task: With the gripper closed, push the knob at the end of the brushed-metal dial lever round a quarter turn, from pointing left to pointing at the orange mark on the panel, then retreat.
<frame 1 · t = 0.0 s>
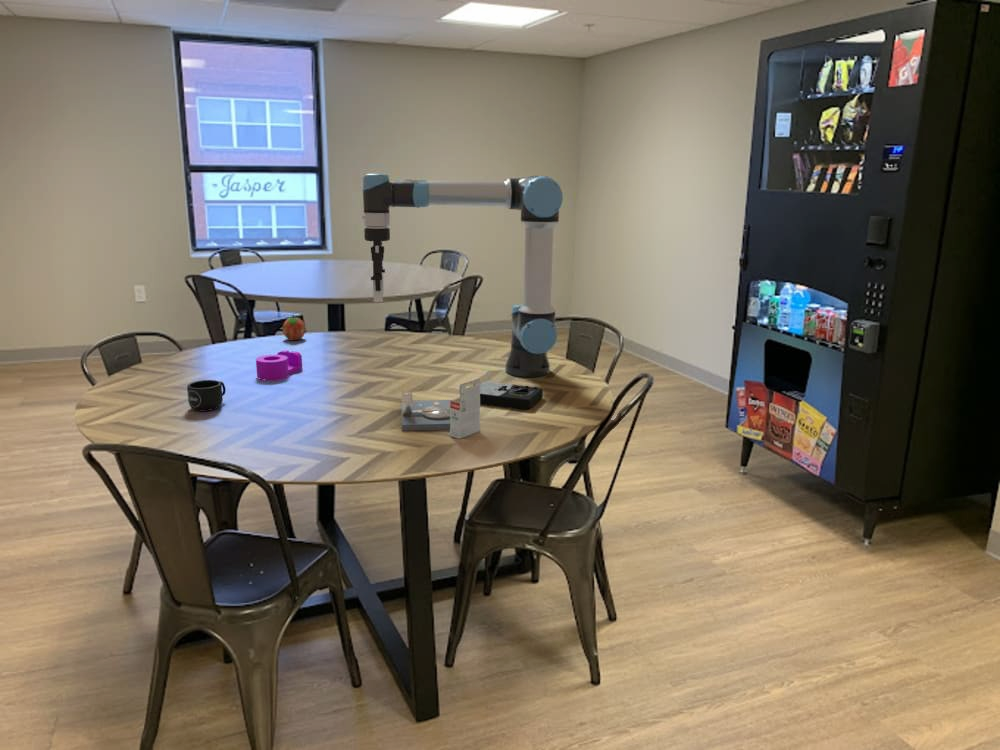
hand: (378, 297, 231), 28 cm above the table, fingers open, 13 cm apart
dial: (428, 403, 206), point 5 cm above the table, hinge at 0.0°
panel: (438, 416, 210), on the table
mug: (210, 407, 215), on the table
multimeter: (505, 402, 226), on the table
ink box: (465, 435, 197), on the table
tape dispenser: (278, 375, 250), on the table
fruit: (294, 340, 298), on the table
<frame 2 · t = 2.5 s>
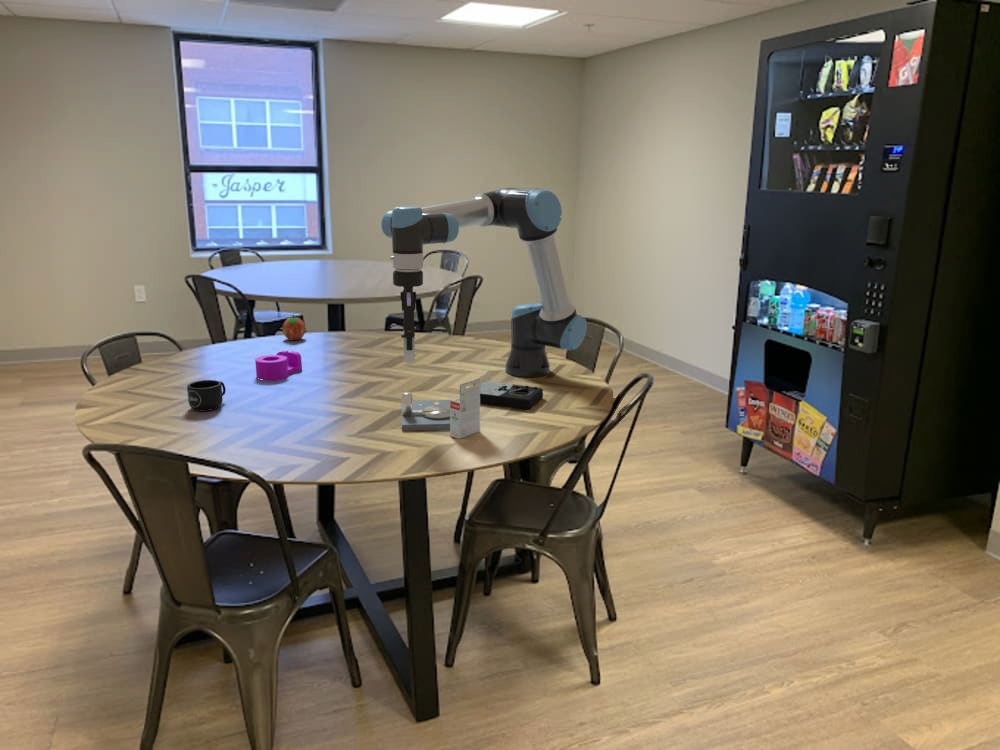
hand: (409, 358, 196), 19 cm above the table, fingers open, 6 cm apart
nothing on the table moved.
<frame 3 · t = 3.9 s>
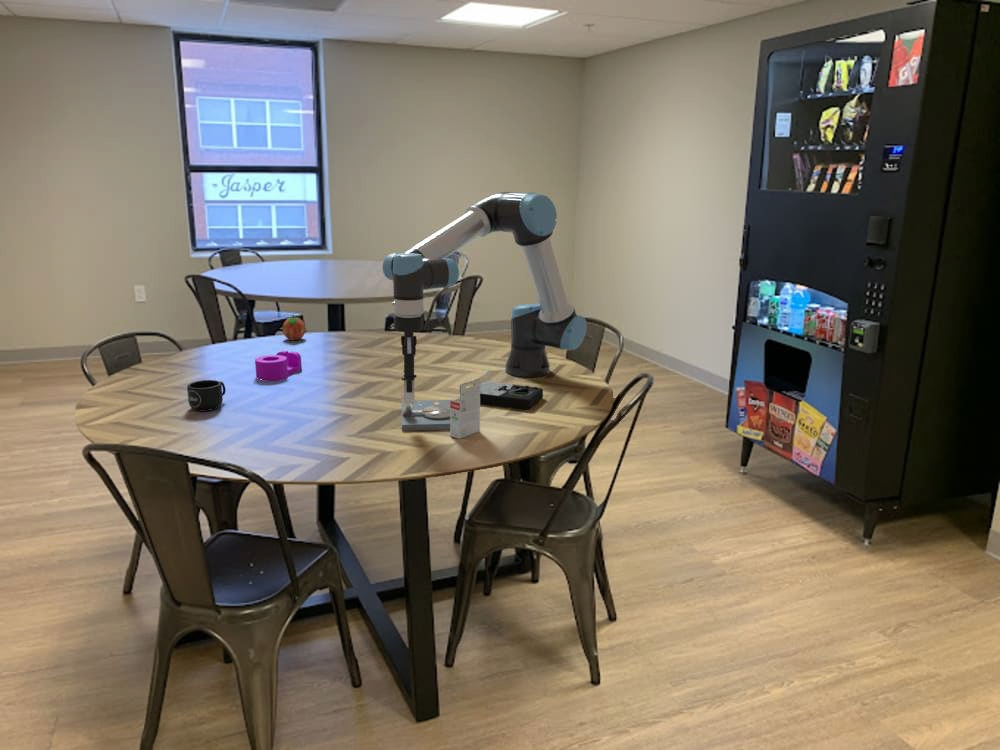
hand: (409, 402, 199), 7 cm above the table, fingers closed
nothing on the table moved.
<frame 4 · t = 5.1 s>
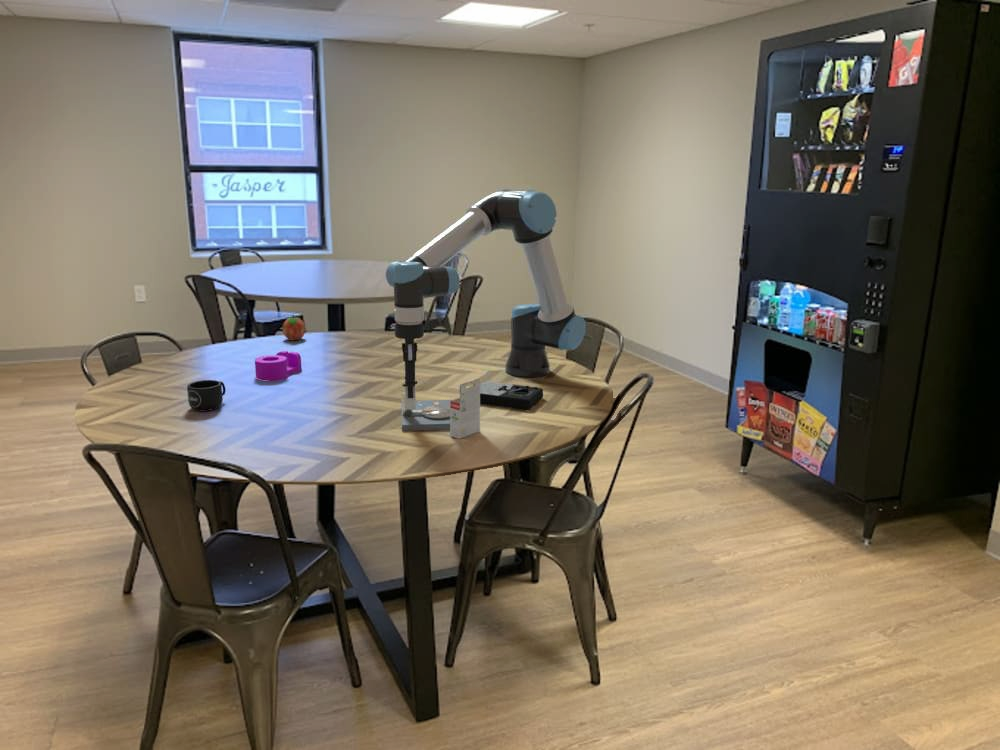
hand: (410, 408, 203), 4 cm above the table, fingers closed
dial: (428, 403, 206), point 5 cm above the table, hinge at -1.0°, touching gripper
everything else where it was.
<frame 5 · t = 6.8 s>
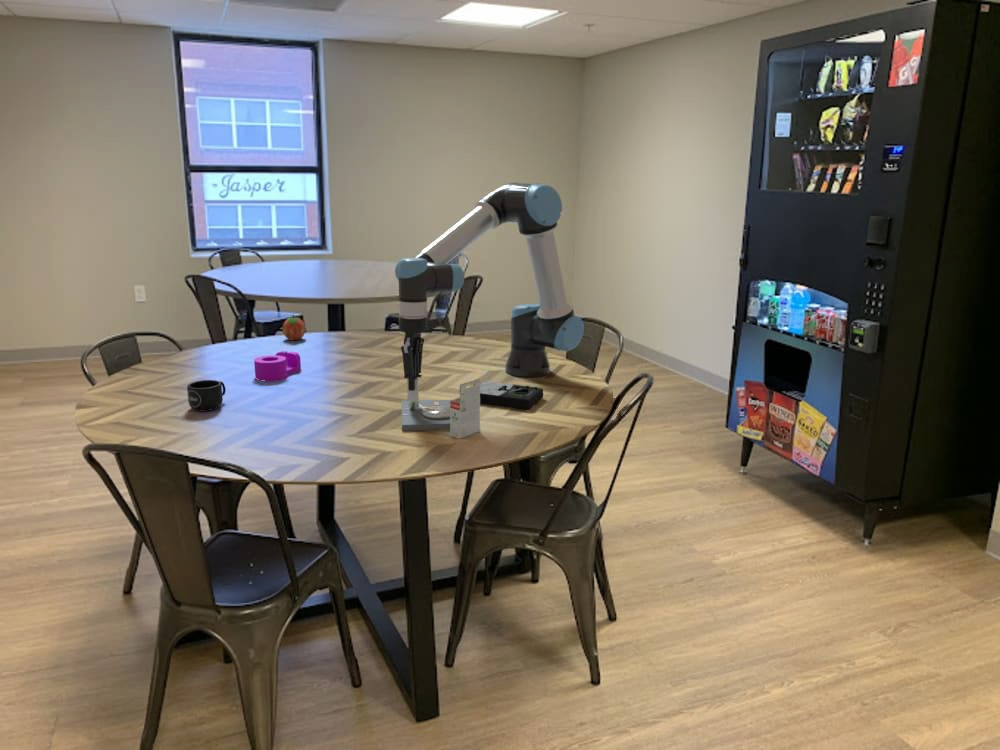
hand: (412, 400, 208), 5 cm above the table, fingers closed
dial: (430, 401, 208), point 5 cm above the table, hinge at -38.5°, touching gripper
everything else where it was.
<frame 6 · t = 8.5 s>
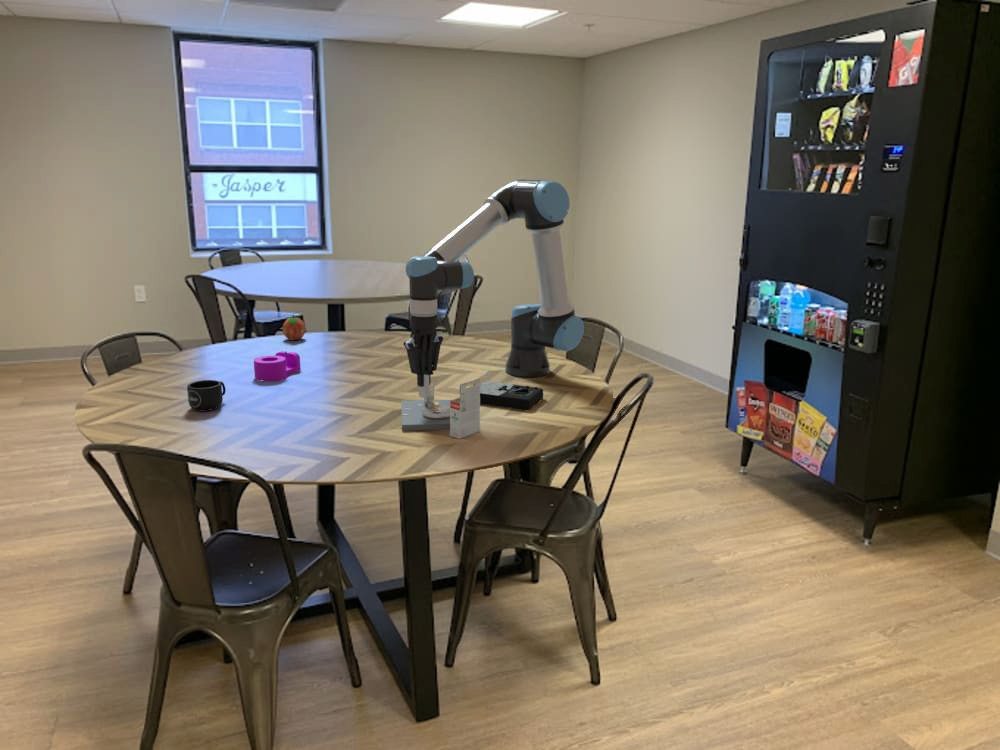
hand: (424, 396, 212), 5 cm above the table, fingers closed
dial: (435, 400, 209), point 5 cm above the table, hinge at -75.2°
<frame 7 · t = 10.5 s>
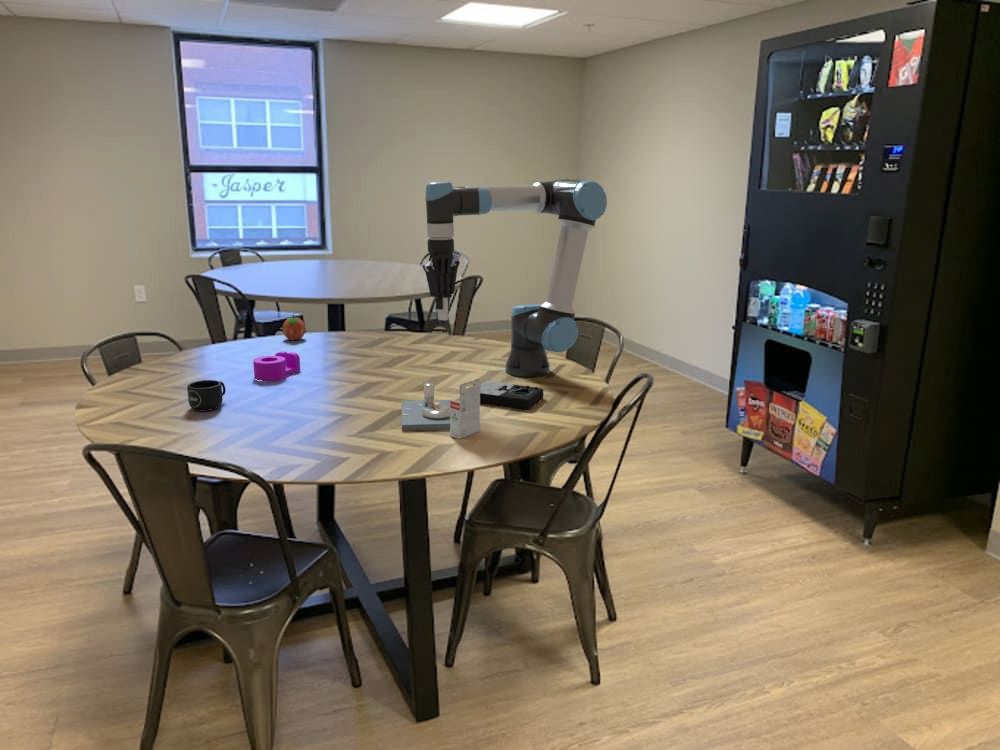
hand: (443, 319, 221), 24 cm above the table, fingers closed
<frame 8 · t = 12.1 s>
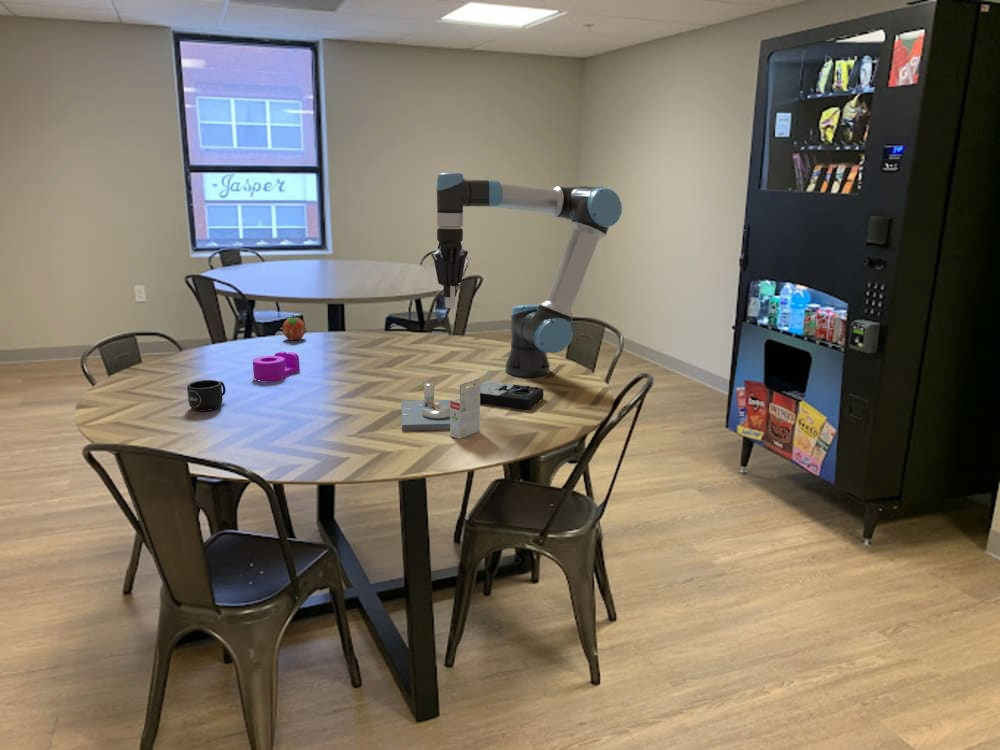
hand: (450, 307, 226), 26 cm above the table, fingers closed
at the end: dial at -75° (first picture: +0°); ink box moved 0.3 cm from its start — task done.
